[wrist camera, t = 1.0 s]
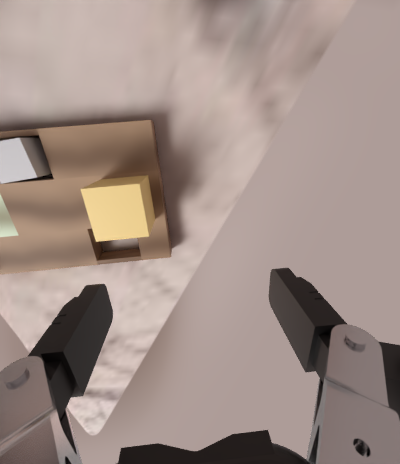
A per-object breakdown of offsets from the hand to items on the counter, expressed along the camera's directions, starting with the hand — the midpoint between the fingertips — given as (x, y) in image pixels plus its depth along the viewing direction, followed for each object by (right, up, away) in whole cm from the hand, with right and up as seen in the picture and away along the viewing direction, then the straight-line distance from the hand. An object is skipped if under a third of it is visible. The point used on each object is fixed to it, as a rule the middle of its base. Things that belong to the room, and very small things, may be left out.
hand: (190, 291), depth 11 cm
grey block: (-20, +12, +16) cm, 28 cm away
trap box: (-16, +7, +18) cm, 25 cm away
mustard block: (-8, +7, +16) cm, 19 cm away
